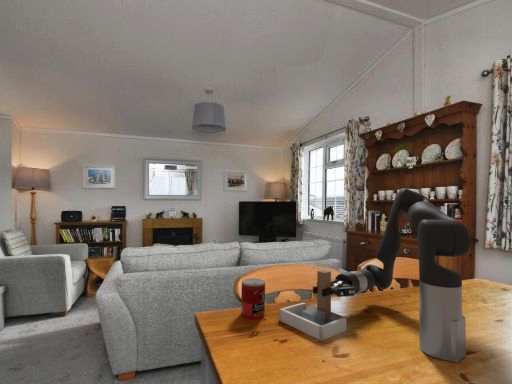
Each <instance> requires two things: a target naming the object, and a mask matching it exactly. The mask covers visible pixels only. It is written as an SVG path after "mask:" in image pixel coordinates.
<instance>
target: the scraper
mask: <svg viewBox="0 0 512 384" xmlns="http://www.w3.org/2000/svg"><path fill="white" fill-rule="evenodd" d="M316 273H317V276H316V277H317V278H316V281H317V282H316V286H317V294H316V296H317V297H316V301H317V302H316V303H317V304H316V305H312V306H310V307H309V306H308V307H306V309H305V310H307V309H310V308H315V309H317V310H320V311H323V312H325V324H327V323H330V322H332V321H335V320H338V319H341V318H343V317H344V318H346V316H344V315H341V314H338V313H335V312H333V311H332V295H329V296H325V297H323V296H322V295H321V293H322V289H325V288H329V287H330V288H331V280H332V271H330V270H325V269H321V270H317V272H316Z"/></svg>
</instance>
